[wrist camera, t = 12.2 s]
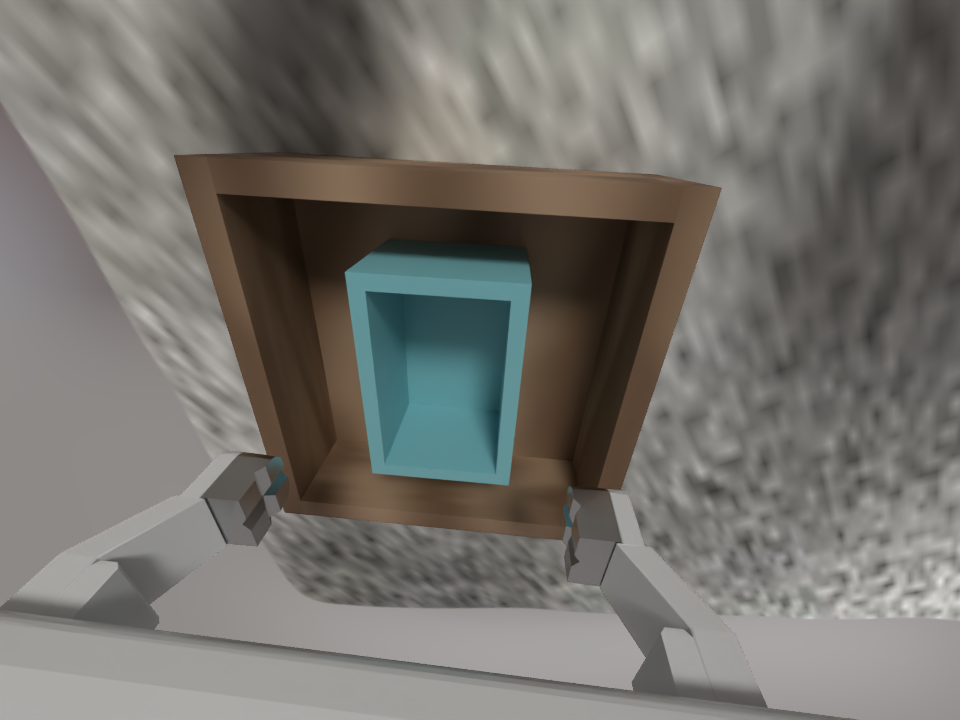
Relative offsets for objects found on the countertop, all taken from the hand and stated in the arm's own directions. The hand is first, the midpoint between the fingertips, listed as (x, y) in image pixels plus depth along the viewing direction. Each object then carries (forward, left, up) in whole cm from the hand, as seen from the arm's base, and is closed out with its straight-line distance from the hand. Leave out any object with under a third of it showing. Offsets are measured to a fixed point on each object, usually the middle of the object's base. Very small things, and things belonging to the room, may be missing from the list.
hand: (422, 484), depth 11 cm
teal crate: (0, 0, -9) cm, 9 cm away
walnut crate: (0, 0, -10) cm, 10 cm away
